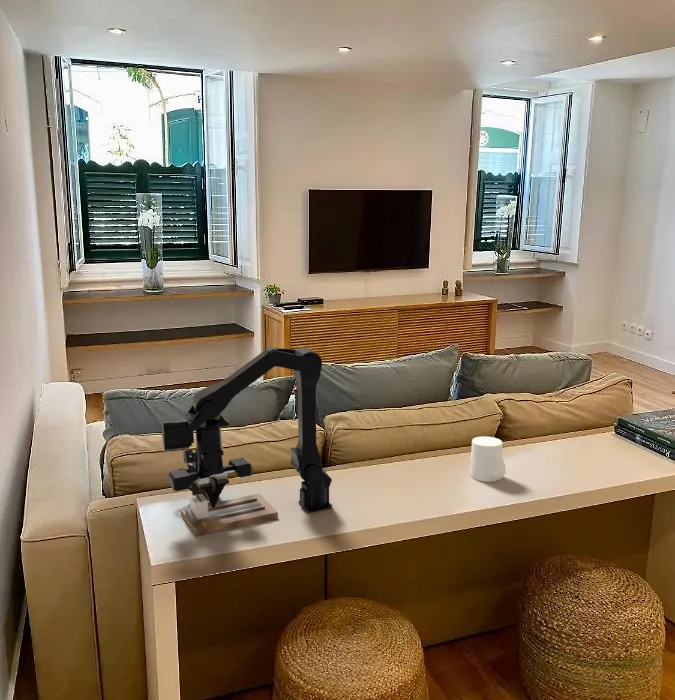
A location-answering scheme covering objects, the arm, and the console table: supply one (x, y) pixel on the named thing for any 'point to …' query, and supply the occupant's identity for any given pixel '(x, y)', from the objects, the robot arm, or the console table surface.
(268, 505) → the fader board
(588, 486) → the console table surface
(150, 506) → the console table surface
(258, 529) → the console table surface
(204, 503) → the fader tab
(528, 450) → the console table surface
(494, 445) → the mug
